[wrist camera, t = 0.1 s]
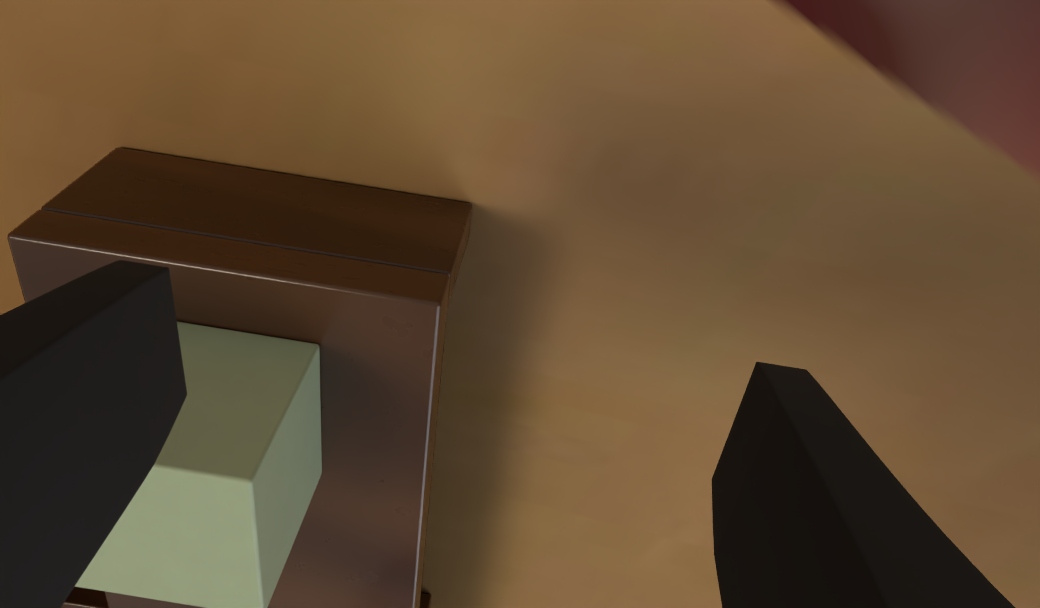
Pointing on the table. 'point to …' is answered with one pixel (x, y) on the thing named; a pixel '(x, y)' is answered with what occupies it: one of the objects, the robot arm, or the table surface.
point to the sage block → (223, 477)
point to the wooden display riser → (292, 334)
